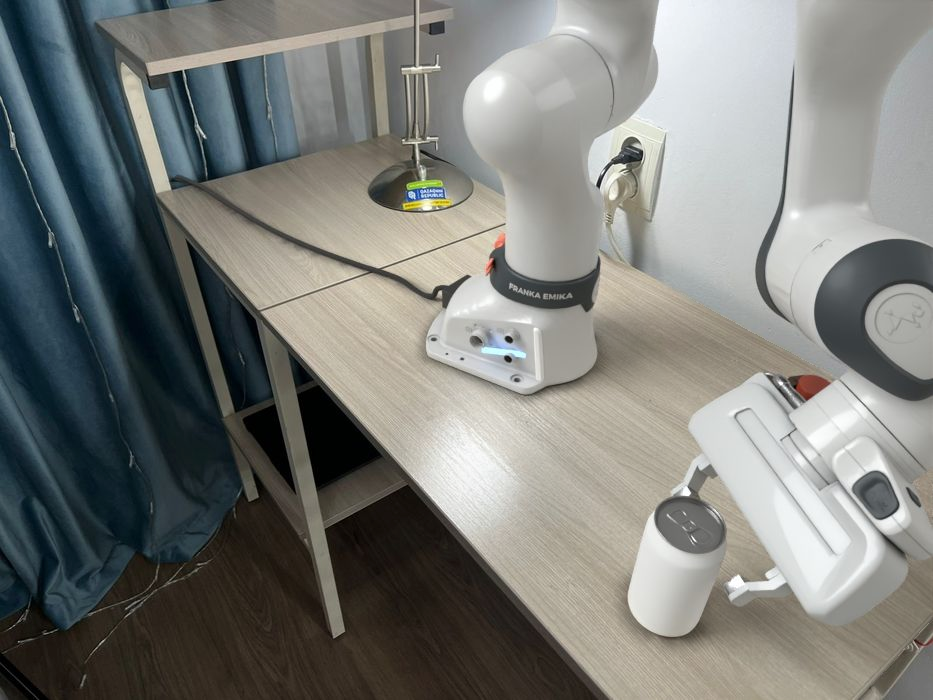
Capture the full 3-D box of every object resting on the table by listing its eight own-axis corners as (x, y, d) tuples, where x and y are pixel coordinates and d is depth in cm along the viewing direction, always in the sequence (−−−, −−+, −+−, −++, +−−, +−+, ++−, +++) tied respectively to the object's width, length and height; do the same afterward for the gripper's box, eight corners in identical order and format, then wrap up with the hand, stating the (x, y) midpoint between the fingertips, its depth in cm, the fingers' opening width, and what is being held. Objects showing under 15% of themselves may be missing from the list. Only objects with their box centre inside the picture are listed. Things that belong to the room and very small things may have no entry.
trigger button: (794, 402, 78) (799, 391, 77) (794, 382, 81) (798, 371, 80) (828, 410, 77) (834, 398, 76) (827, 390, 80) (832, 378, 79)
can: (662, 653, 59) (691, 572, 52) (611, 595, 63) (631, 512, 56) (715, 616, 62) (750, 533, 54) (663, 562, 66) (688, 479, 58)
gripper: (756, 345, 59) (631, 442, 64) (927, 543, 43) (746, 652, 48) (788, 378, 63) (668, 467, 67) (957, 571, 47) (786, 671, 52)
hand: (701, 546), depth 57 cm, fingers open, 8 cm apart
